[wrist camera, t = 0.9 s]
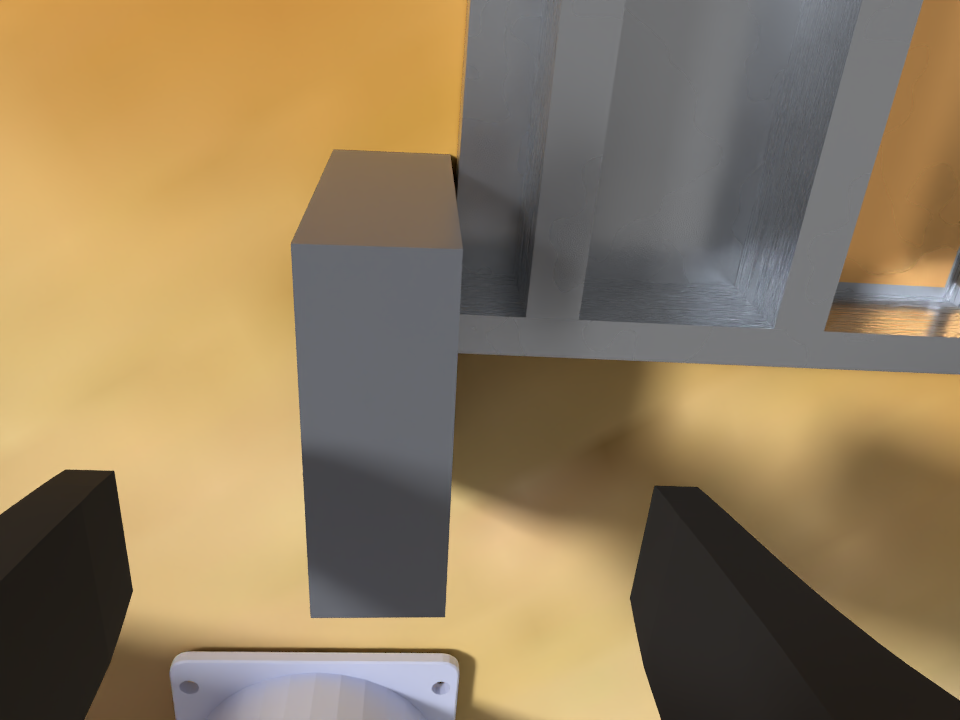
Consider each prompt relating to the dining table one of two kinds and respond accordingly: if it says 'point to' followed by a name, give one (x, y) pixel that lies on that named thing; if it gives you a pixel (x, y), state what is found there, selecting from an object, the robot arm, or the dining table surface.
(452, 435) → the block
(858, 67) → the rack
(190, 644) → the dining table surface
